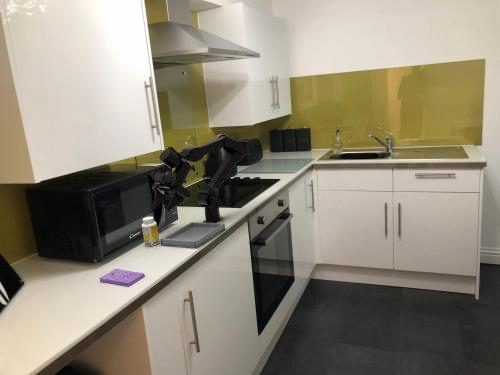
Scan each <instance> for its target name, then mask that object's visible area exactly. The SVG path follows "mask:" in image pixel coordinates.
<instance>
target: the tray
mask: <svg viewBox="0 0 500 375" xmlns="http://www.w3.org/2000/svg"><path fill="white" fill-rule="evenodd" d="M224 231H226V225H225V223H218V222H216V223H207V222H200V221H199V222H197V221H194V222H193V221H191V222H189V223H188V224H186V225H184V226H181V227H180V228H178V229H176V230H175V231H173V232H171V233H169V234H167V235H165V236H163V237H162V238H159V239H160V242H159V243H160V246H162V247H163V246H164V247H174V248H185V249H186V248H187V249H199V247H201V246H203V245H204V244H206V243H207V242H209V241H210V240H212V239H213V238H215V237H216V236H218V235H219V234H221V233H223V232H224Z"/></svg>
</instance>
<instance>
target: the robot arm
mask: <svg viewBox="0 0 500 375" xmlns="http://www.w3.org/2000/svg"><path fill="white" fill-rule="evenodd" d="M220 149H223V151H224V152H225V153H224V160H223V162H221V165H219V167H218V169H217V170H216V172H215V173H214V175H213V176H212V178H211V180H210V182H209V183H207V184H202V185H201V186H200V188H199V189H198V190H197V192H196V201H197V203H198V204H199V206H200V208H204V216H205V217H204V218H205V220H203V221H202V223H218V222H220V221H222V220H223V219H224V217H223V216H221V212H220V208H221V207H223V200H221V199H220V198H219V196H220V195H219V193H220V192H219V191H220V188H221V187H222V185H223V184H224V182H225V180H226V179H227V177H228V176H229V175H230V173H231V171H232V169H233V168H234V166H235V165H236V163H238V162H240V161H242V159H243V158H244V157H245V156H246V154H247V147H246V145H245V144H244V143H240V142H238V141H237V140H234V139H232V138H230V137H228V136H220V137H218V138H216V139H213V140H211V141H208V142H205V143H203V144H201V145H196V146H188V147H184V148H182V150H181V151H179V152H178V151H177V150H176V149H175V148H174V147H173V146H168V147H167V148H166V149H165V150H163V151H162V152H161V153H160V154H159V156H158V158H159V160H160V161H161V162H162V163H163V164H165V165H166V166H167V167H168V168H169V169H173V171H166V172H156V173H155V176H154V183H153V184H152V186H151V188H152V190H153V193H154V197H153V198H154V199H153V204H152V208H153V209H156V208H158V207H159V206H160V205H161V203H162V202H164V200H166V198H167V197H168V194H169V193H170V194H171V197H170V200H169V202H168V204H167V206H166V209H165V211H167V212H170V211H171V210H172V209H173V208H175V207H176V206H179V204H181V203H182V202H184V201H186V200H187V199H188V200H189V199H190V197H191V191H190V190H189V189H188V188H186V187H185V186H184V185H183V184H187V180H186V179H187V177H188V176H189V174H190V172H194V173H195V172H197V169H196V166H195V164H190V163H198V162H199V161H201V160H202V159H204V158H205V156H206V155H208V154H210V153H214V152H215V151H217V150H220ZM155 181H156V182H155Z"/></svg>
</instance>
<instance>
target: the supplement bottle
mask: <svg viewBox="0 0 500 375" xmlns="http://www.w3.org/2000/svg"><path fill="white" fill-rule="evenodd" d="M141 230H142V231H141V232H142V234H143V240H144V241H143V242H144V245H145V246H146V247H152V246H156V245H159V243H161V242H160V239H161V238H160V234H159V230H158V224H157V222H156V221H155V219H154V216H146V217H144V218H142V224H141Z"/></svg>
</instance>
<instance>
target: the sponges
mask: <svg viewBox="0 0 500 375" xmlns="http://www.w3.org/2000/svg"><path fill="white" fill-rule="evenodd" d="M145 275H146V274H145V273H144V272H139V271H132V270H126V269H120V268H114V269H112V270H111V271H110V272H107V273H106V274H104V275H102V276H100V277H99V282H100V283H106V284H113V285H116V286H117V285H118V286H124V287H131V286H132V285H134V284H136V283H137V282H138V281H140V280H142V279H144V278H145V277H146V276H145Z"/></svg>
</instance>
